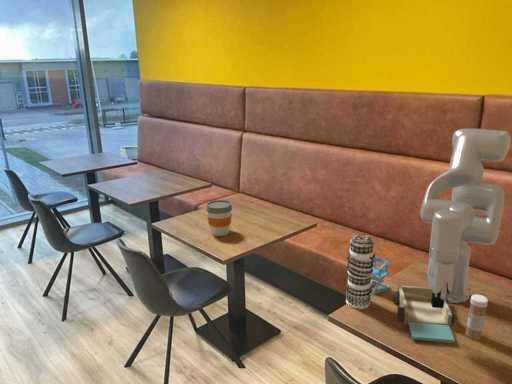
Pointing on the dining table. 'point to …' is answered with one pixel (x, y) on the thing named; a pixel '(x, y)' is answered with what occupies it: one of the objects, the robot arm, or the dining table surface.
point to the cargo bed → (420, 306)
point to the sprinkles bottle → (476, 316)
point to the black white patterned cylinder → (360, 271)
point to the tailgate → (430, 331)
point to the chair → (380, 275)
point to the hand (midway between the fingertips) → (437, 306)
